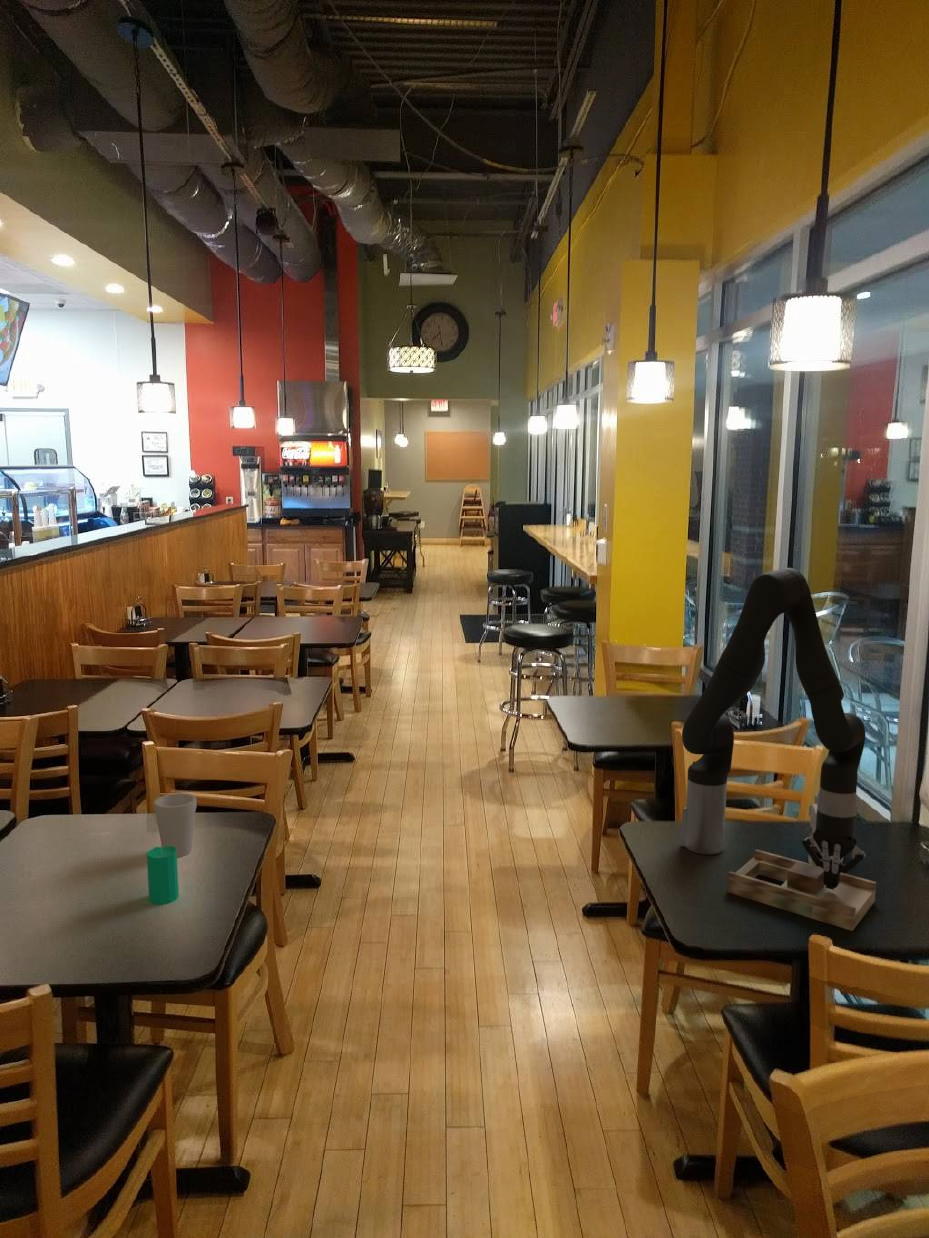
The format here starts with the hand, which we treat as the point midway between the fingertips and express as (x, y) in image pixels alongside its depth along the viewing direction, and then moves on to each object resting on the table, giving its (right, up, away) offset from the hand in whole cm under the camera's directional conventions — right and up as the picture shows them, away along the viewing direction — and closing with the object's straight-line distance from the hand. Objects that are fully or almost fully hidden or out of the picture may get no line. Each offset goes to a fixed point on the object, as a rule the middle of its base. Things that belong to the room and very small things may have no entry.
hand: (830, 887), depth 186 cm
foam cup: (-145, +1, +24) cm, 148 cm away
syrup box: (+6, -1, +19) cm, 20 cm away
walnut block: (-4, -1, +3) cm, 5 cm away
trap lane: (-5, -3, +4) cm, 7 cm away
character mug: (+12, +1, +31) cm, 33 cm away
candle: (-141, -3, +2) cm, 141 cm away
